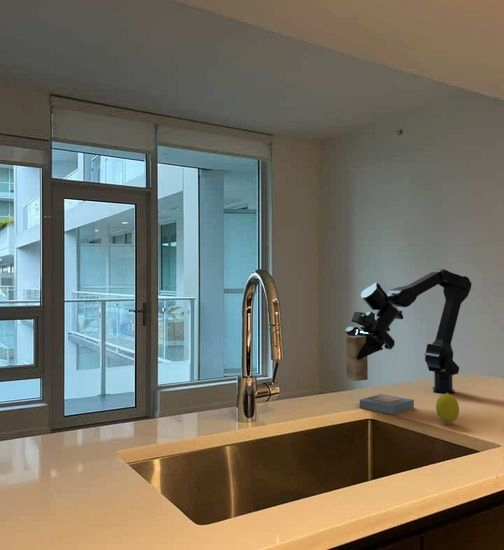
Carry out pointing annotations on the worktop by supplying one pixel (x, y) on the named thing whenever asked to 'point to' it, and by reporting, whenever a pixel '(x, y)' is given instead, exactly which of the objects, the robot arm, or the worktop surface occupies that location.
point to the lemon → (447, 408)
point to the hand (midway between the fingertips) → (353, 357)
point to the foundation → (386, 404)
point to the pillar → (354, 366)
